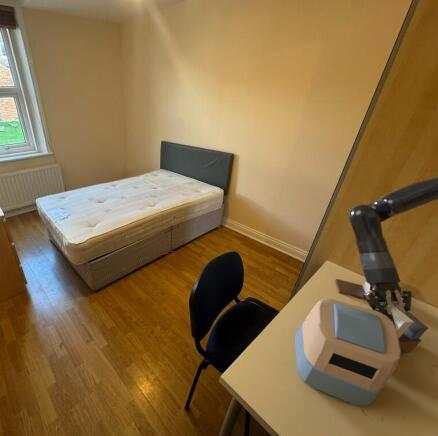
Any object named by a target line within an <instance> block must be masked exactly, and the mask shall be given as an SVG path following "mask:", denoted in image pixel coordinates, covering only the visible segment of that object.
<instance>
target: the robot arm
mask: <svg viewBox="0 0 438 436" xmlns="http://www.w3.org/2000/svg"><path fill="white" fill-rule="evenodd" d="M436 201H438V176H436V177H432V178H427V179H423V180H419V181H416V182H413V183H409V184H406V185H404V186H402V187H399V188H396V189H395V190H393V191H391V192H388V193H387V194H385V195H382V196H381V197H380V198H379V199H377V200H375V201H373V202H370V203H369V204H357V205H355V206H353V207H352V208H351V209H350V210H349V212H348V221H349V223H350V225H351V228H352V230H353V233H354V236H355V244H356V248H357V251H358V255H359V261H360V264H361V268H362V271H363V275H364V279H365V282H367V283H369V284H370V291H369V292H367V293H363V294H362V295H363V297H364V298H365V299H366V300H365V301H366V302H367V304H368V305H369V307H370V309H371V310H374V311H377V312H379V313H382V314H384V315H386V316H387V317H388V318H389V319H390V320H391V321H392V322H393V323H394V325H395V322H394V319H393V315H391V306H392V304H393V305H394V306H395V307H396V308H398V309H399V310H400V311H401V312H402V313H404V314H405V313H406V311H409V312H410V311H411V308H412V294H413V293H412V291H411V290H405V289H402V287H401V286H400V285H399V283H400V282H401V278H400V275H399V271H398V269H397V266H396V263H395V260H394V257H393V256H392V254H391V252H390V249H389V246H388V243H387V240H386V238H385V236H384V232H383V227H382V226H383V225H382V223H383V222H385V221H387V220H389V219H391V218H394V217H395V216H398V215H402V214H404V213H406V212H410V211H412V210H415V209H417V208H420V207H422V206H425V205H427V204H430V203H432V202H436ZM382 302H385V303H382ZM384 306H385V309H384ZM395 327H396V325H395Z"/></svg>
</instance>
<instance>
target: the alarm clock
mask: <svg viewBox="0 0 438 436" xmlns="http://www.w3.org/2000/svg"><path fill="white" fill-rule="evenodd" d="M294 347H295V363H296V371H297V374H298V377H299V378H300V379H301V380H302V381H303V382H304V383H305V384H307V386H309V387H311V388H313V389H316V390H318V391H321V392H323V393H325V394H327V395H330V396H332V397H334V398H337V399H339V400H342V401H344V402H347V403H349V404H352V405H354V406H368V405H369V404H371V403H373V402H374V401H375V399H377V397H378V396H379V394H381V392H382V391H383V389H384V388H383V387H384V386H385V385H386V383H387V382H388V380H389V379H390V377H391V376H392V375H393V374H394V372H395V370H396V368H397V367H398V364H399V361H400V359H401V354H402V353H401V350H400V344H399V339H398V334H397V329H396V327H395V325H394V323H393V322H392V321H391V320H390V319H389V318H388V317H387V316H386V315H384V314H382V313H379V312H377V311H374V310H373V309H372V308H367V307H364V306H360V305H356V304H352V303H350V302H347V301H346V302H345V301H343V300H339V299H335V298H328V297H324V298H322V299H320V300H318V301H317V303H316V304H315V305H314V306H313V307H312V308H311V310H310V312H308V315H307V316H306V318H305V319H304V321H302V322H301V324H300V326H299V328H298V330H297V331H296V333H295V336H294Z"/></svg>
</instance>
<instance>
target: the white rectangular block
mask: <svg viewBox="0 0 438 436" xmlns="http://www.w3.org/2000/svg"><path fill="white" fill-rule="evenodd" d="M396 307H397V306H396ZM396 307H395V306H394V305H393V304H392V306H391V315H393V319H394V322H395V325H396V329H397V334H398V339H399V338H400V336H401V335H402V334H403V333H404V332H405V331H406V330H407V328H408V327H409V326H410V325H411V324H412V323H413V321H412V320H411V319H410V318H408V317H407V316H406V315H405V314H404V313H402V312H401V311H400V310H399V309H398V308H396ZM384 309H385V306H384Z"/></svg>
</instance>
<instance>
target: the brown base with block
mask: <svg viewBox="0 0 438 436" xmlns="http://www.w3.org/2000/svg"><path fill="white" fill-rule="evenodd" d="M334 282H335V285H336V288H337V292H338V294H341V295H344V296H349V297H352V298H355V299H360V300H363V301H366V299H365V298H364V297H363V295H362V294H363V293H367V292H369V291H370V284H369V283H367V282H366V281H365V282H364V283H363V285H362V284H359V283H354V282H350V281H346V280H343V279H339V278H335V280H334ZM382 303H385V302H382Z"/></svg>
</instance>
